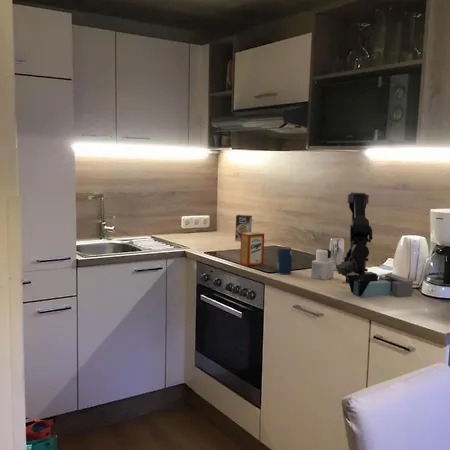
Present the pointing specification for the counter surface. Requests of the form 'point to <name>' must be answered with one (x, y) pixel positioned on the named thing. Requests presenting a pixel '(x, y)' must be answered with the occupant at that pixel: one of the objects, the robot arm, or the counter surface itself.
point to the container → (322, 265)
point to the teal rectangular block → (374, 288)
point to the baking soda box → (252, 248)
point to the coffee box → (242, 225)
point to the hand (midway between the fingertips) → (356, 294)
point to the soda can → (284, 260)
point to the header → (399, 285)
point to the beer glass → (336, 251)
